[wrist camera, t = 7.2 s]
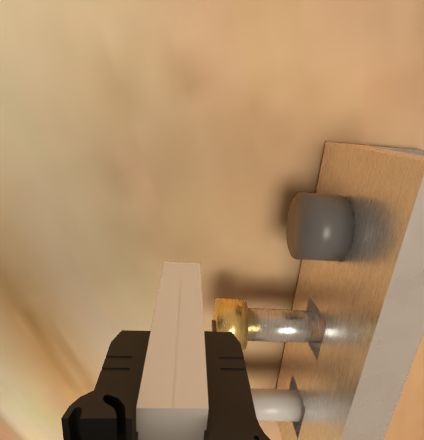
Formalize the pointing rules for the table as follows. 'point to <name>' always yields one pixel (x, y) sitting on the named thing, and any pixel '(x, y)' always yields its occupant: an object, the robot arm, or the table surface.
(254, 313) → the silver and brass cylinder
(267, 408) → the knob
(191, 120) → the table surface
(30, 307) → the table surface
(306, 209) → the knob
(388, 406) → the panel
